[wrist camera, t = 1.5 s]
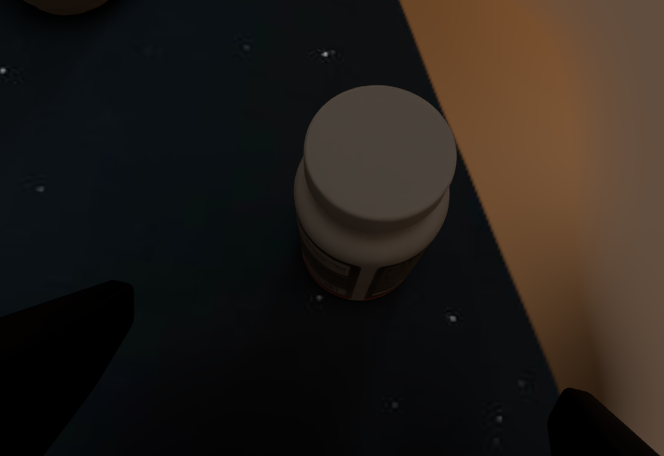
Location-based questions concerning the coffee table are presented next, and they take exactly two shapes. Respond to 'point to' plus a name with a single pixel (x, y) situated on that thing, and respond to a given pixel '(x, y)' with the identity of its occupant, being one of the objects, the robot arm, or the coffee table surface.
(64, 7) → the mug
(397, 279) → the pill bottle
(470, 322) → the coffee table surface
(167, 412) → the coffee table surface
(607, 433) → the robot arm
